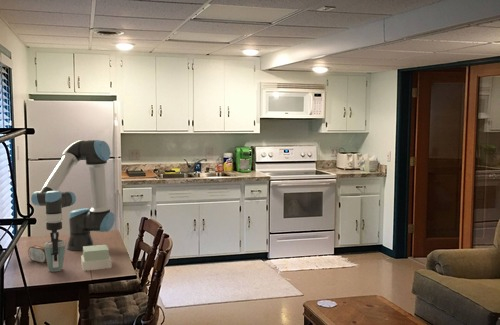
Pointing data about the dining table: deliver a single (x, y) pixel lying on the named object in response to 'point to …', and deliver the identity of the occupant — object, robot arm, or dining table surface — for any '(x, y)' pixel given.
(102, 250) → the top block
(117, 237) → the dining table surface
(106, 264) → the base block
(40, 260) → the tin
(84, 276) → the dining table surface
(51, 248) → the disposable coffee cup
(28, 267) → the dining table surface
